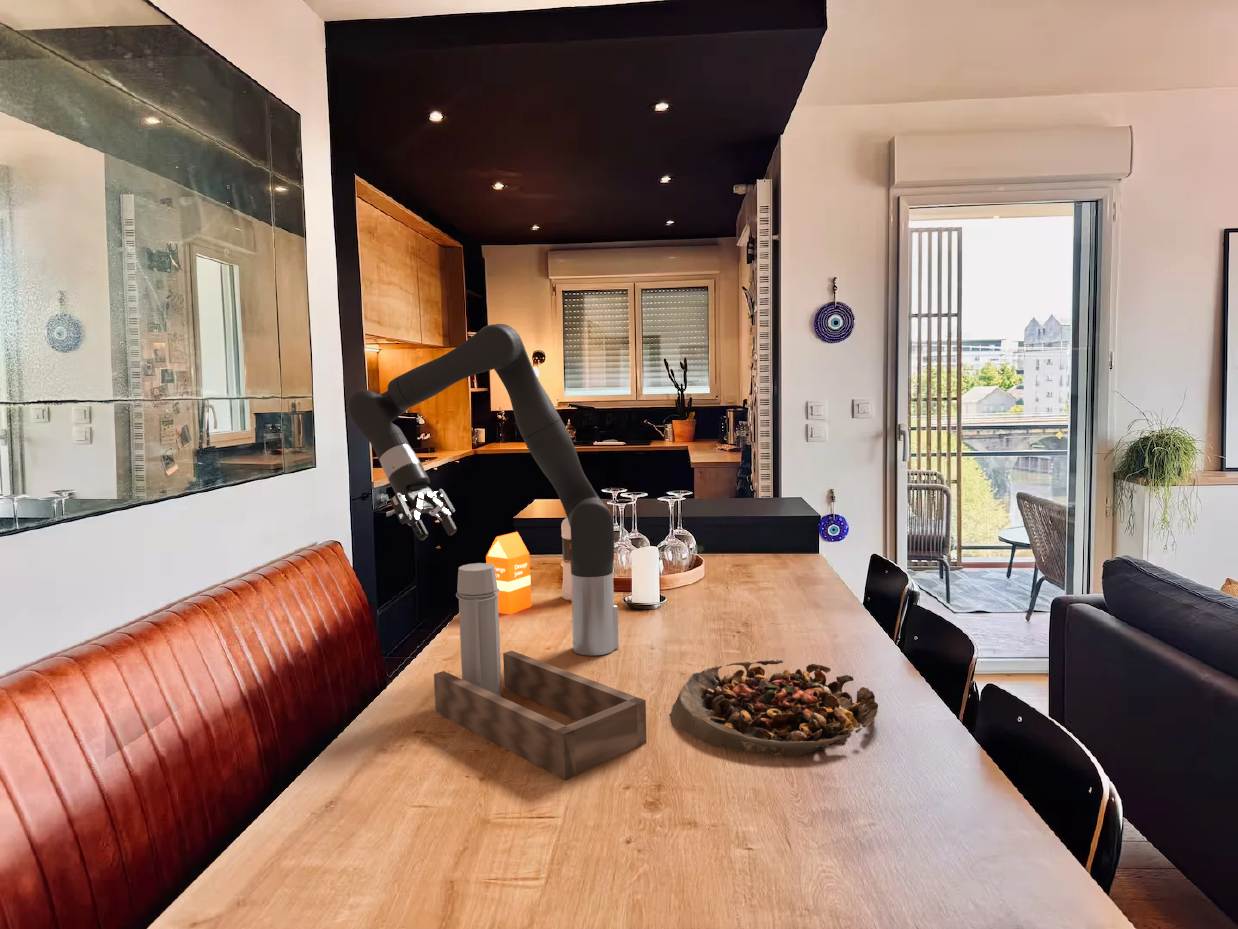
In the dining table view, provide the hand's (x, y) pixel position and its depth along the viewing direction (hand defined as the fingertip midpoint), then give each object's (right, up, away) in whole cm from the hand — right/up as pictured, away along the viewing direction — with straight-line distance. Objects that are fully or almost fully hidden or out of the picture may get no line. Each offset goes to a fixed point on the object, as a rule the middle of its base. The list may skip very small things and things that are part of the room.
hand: (439, 535), depth 160 cm
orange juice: (+8, -24, +45) cm, 52 cm away
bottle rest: (+23, -30, -29) cm, 47 cm away
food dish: (+63, -29, -26) cm, 74 cm away
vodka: (+26, -22, +55) cm, 65 cm away
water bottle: (+12, -29, -17) cm, 36 cm away
